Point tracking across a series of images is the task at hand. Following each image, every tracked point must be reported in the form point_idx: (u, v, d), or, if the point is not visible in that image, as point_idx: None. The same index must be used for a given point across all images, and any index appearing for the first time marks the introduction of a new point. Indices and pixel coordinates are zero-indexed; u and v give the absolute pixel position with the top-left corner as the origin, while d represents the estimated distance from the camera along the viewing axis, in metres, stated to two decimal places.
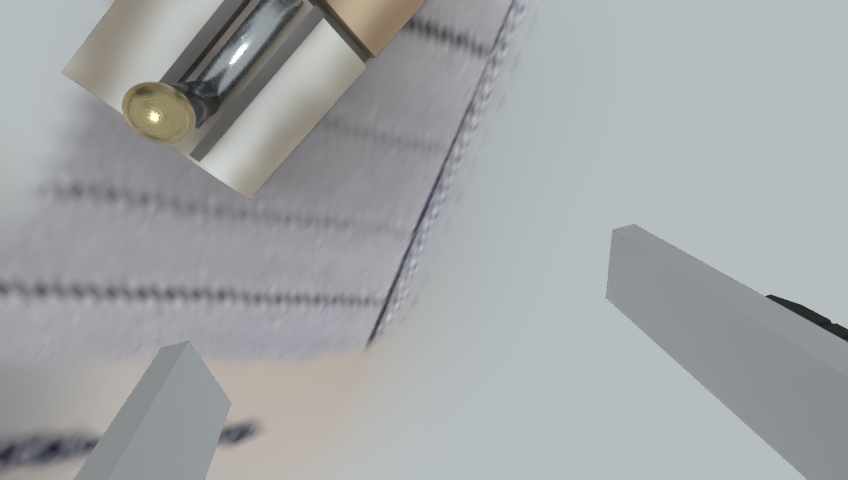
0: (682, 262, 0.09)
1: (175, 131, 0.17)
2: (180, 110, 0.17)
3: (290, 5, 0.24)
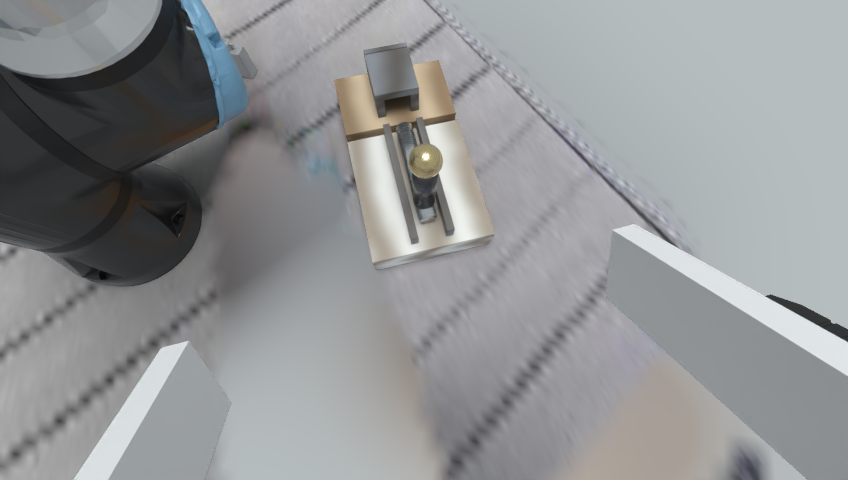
0: (682, 262, 0.09)
1: (437, 151, 0.29)
2: None
3: (409, 128, 0.40)
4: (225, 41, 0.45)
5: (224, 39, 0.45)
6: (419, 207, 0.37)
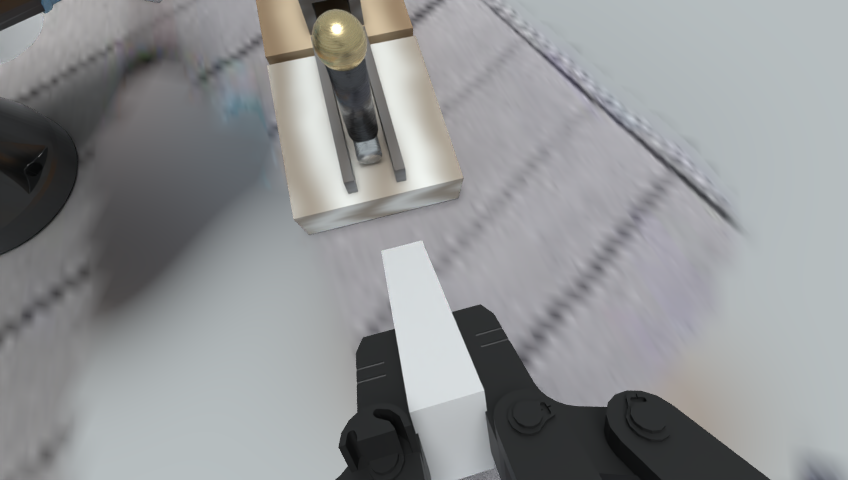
0: (422, 276, 0.10)
1: (355, 20, 0.18)
2: None
3: None
4: None
5: None
6: (355, 139, 0.26)
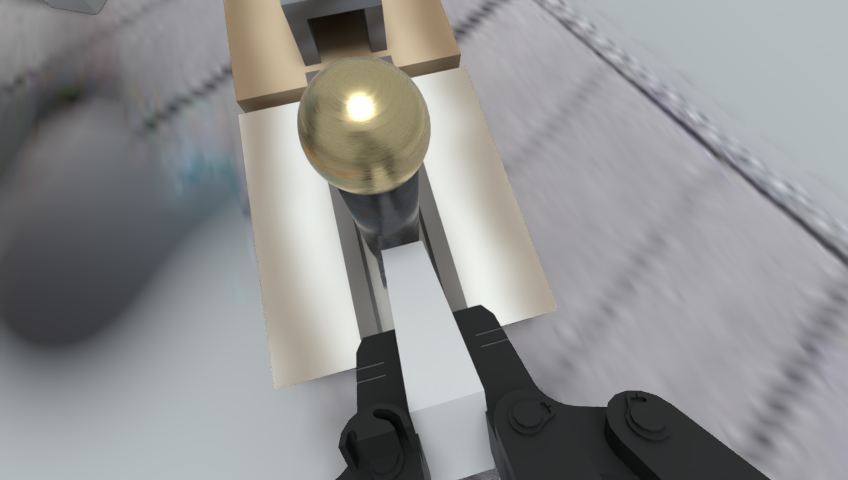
0: (422, 276, 0.10)
1: (408, 86, 0.07)
2: None
3: None
4: None
5: None
6: (380, 258, 0.15)
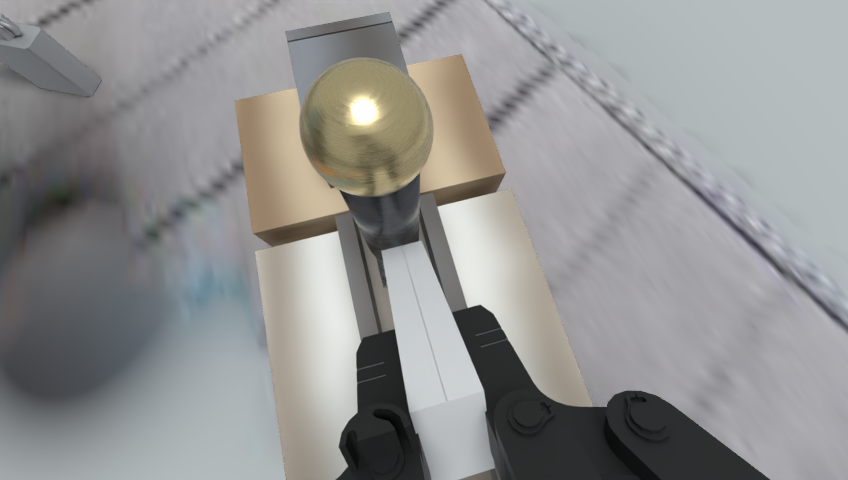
0: (422, 276, 0.10)
1: (411, 89, 0.07)
2: None
3: None
4: None
5: None
6: (380, 258, 0.15)
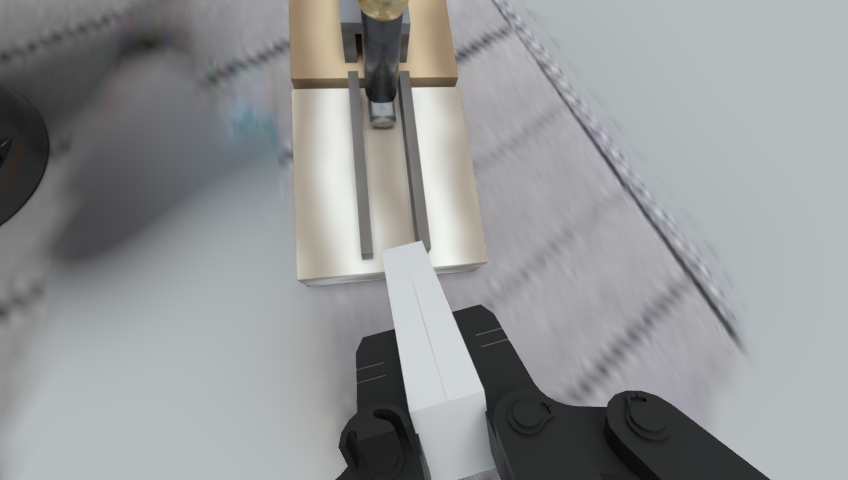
0: (422, 276, 0.10)
1: None
2: None
3: None
4: None
5: None
6: (372, 98, 0.26)
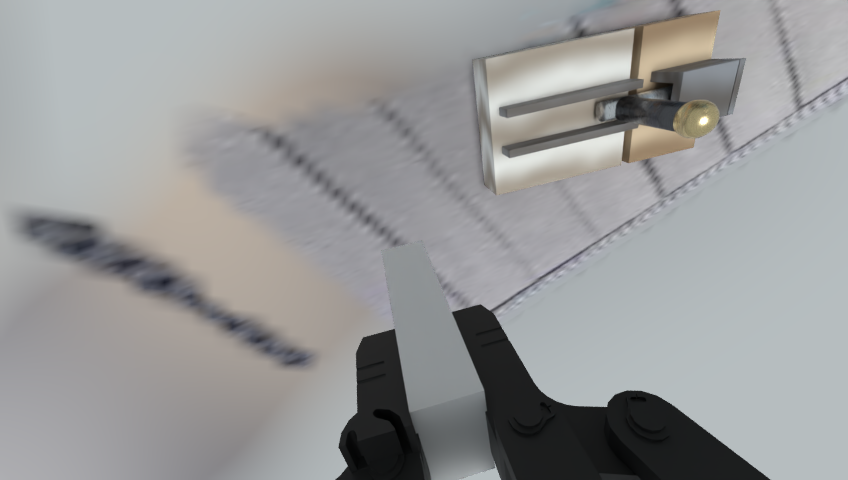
0: (422, 276, 0.10)
1: (704, 134, 0.28)
2: None
3: None
4: None
5: None
6: (619, 103, 0.35)
